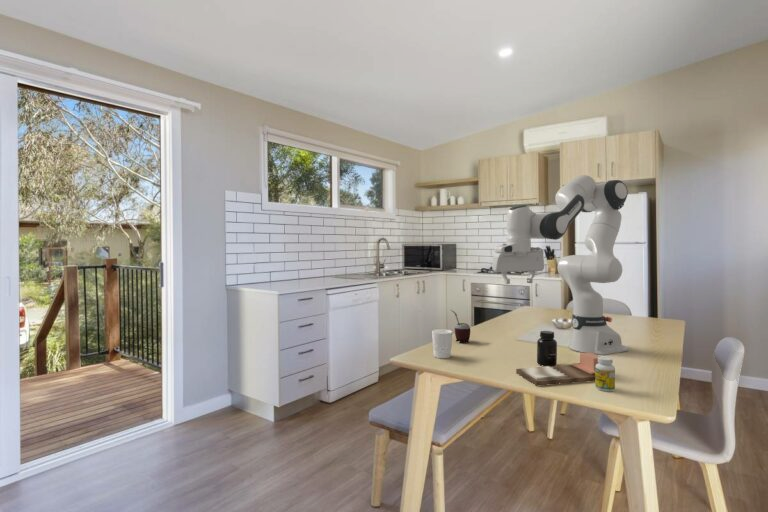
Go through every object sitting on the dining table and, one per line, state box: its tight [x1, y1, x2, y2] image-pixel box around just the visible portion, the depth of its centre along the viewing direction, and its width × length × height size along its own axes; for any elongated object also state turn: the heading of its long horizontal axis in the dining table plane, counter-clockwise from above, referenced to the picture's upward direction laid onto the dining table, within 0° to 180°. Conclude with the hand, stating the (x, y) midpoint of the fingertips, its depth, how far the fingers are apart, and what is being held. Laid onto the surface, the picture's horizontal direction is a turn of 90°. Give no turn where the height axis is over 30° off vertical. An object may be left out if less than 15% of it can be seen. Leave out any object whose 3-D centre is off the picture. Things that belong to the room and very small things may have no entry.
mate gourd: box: [450, 309, 471, 344], centre depth 190 cm, size 8×8×15 cm
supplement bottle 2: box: [594, 356, 616, 393], centre depth 130 cm, size 5×5×10 cm
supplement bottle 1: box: [536, 330, 558, 367], centre depth 156 cm, size 7×7×12 cm
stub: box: [571, 352, 602, 374], centre depth 144 cm, size 8×10×5 cm
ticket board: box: [515, 364, 595, 387], centre depth 143 cm, size 28×13×2 cm, turn 101°
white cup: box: [431, 328, 453, 359], centre depth 168 cm, size 8×8×10 cm
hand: (518, 283), depth 164 cm, fingers open, 8 cm apart
